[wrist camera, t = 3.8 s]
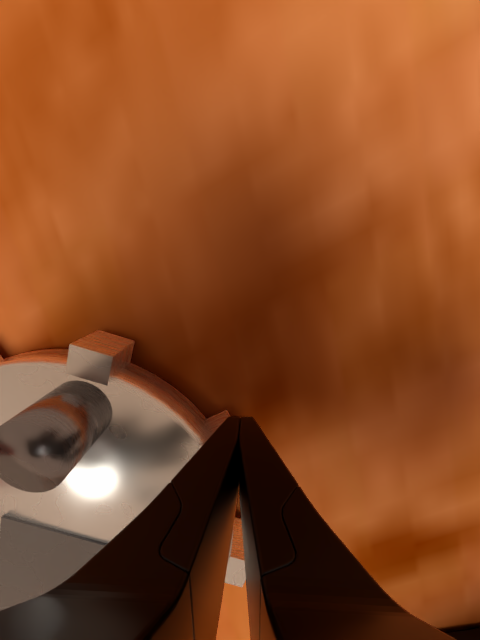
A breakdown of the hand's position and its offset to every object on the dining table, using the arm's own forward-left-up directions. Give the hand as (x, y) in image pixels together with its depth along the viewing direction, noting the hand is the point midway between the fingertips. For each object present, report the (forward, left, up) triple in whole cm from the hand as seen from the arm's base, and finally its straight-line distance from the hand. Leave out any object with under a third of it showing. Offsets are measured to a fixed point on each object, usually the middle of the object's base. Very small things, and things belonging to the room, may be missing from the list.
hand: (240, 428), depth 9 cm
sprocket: (+9, +3, -3) cm, 10 cm away
